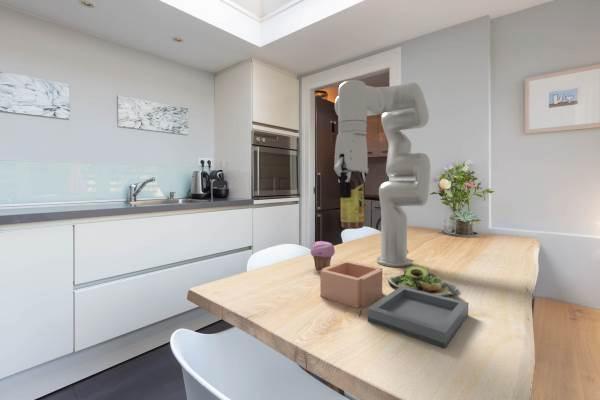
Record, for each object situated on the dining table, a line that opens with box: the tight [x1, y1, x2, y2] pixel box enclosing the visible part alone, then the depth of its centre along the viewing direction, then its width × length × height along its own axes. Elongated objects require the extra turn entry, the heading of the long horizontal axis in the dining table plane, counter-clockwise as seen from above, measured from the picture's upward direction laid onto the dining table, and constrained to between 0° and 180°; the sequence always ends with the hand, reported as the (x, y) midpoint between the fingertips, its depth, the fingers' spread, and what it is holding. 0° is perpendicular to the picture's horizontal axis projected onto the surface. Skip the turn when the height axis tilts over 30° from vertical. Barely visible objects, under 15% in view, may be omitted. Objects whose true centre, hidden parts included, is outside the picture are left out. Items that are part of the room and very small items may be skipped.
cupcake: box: [310, 240, 336, 271], centre depth 103 cm, size 9×9×10 cm
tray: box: [367, 286, 469, 349], centre depth 65 cm, size 18×16×3 cm
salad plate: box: [387, 265, 461, 297], centre depth 84 cm, size 19×18×5 cm
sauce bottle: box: [340, 169, 365, 230], centre depth 78 cm, size 6×6×20 cm
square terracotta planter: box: [319, 260, 383, 309], centre depth 79 cm, size 13×13×7 cm
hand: (352, 196), depth 78 cm, fingers closed on sauce bottle, 6 cm apart
